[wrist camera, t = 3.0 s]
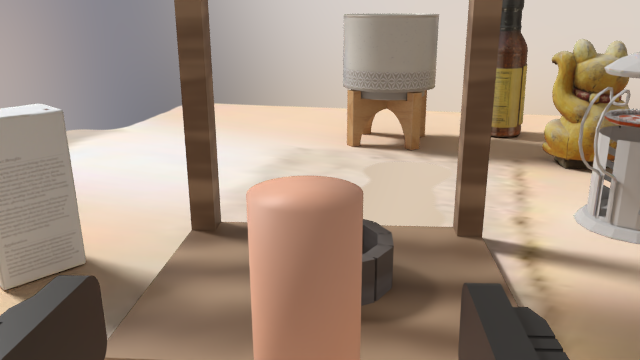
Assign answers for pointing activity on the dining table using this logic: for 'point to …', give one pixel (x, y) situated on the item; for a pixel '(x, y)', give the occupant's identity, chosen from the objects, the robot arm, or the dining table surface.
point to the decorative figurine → (582, 101)
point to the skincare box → (36, 196)
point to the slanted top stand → (377, 241)
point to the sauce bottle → (510, 73)
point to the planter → (389, 71)
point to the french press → (615, 165)
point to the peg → (305, 268)
